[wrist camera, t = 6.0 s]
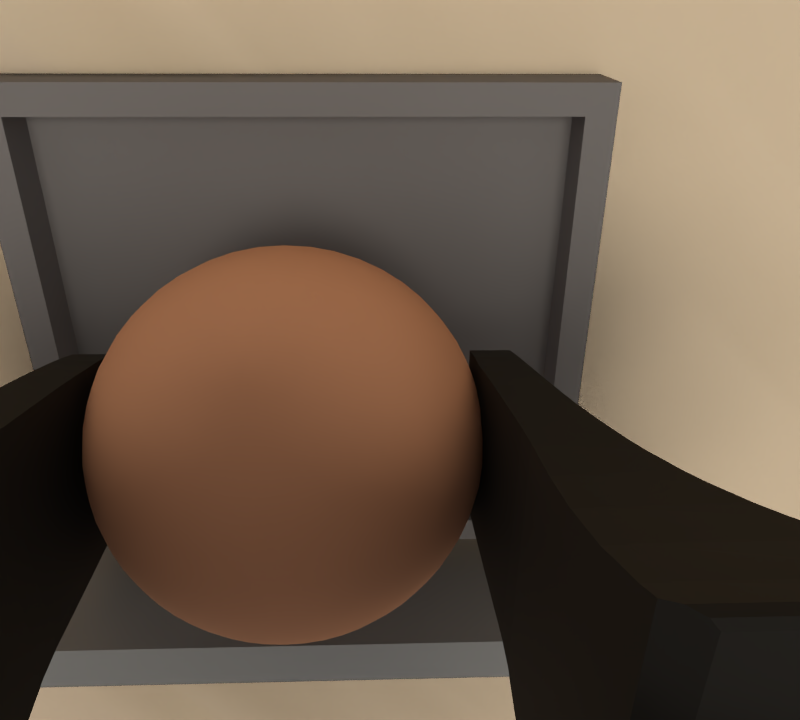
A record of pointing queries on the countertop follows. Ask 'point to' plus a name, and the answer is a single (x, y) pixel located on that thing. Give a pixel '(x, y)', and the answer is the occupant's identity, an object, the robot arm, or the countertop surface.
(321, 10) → the countertop surface
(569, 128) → the charcoal dish
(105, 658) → the low fence
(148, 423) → the ball
